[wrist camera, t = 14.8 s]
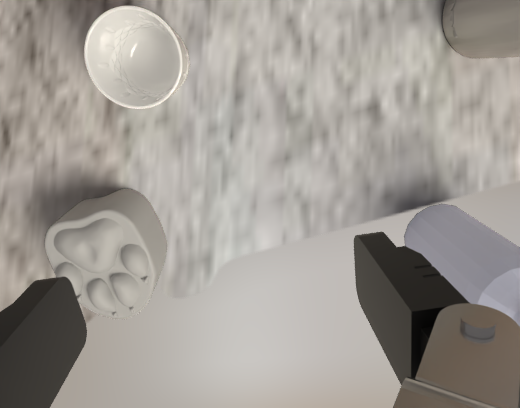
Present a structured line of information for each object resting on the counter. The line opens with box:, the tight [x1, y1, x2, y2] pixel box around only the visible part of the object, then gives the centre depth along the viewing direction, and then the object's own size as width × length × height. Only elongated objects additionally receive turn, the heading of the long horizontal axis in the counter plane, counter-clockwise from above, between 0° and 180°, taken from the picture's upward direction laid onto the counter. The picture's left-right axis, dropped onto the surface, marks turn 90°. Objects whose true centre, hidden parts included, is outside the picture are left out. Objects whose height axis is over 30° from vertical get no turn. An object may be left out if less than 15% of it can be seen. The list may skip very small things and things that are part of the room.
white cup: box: [84, 6, 190, 109], centre depth 36 cm, size 8×8×10 cm
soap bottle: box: [404, 204, 520, 327], centre depth 38 cm, size 9×9×24 cm
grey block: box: [45, 189, 167, 319], centre depth 43 cm, size 10×13×9 cm
